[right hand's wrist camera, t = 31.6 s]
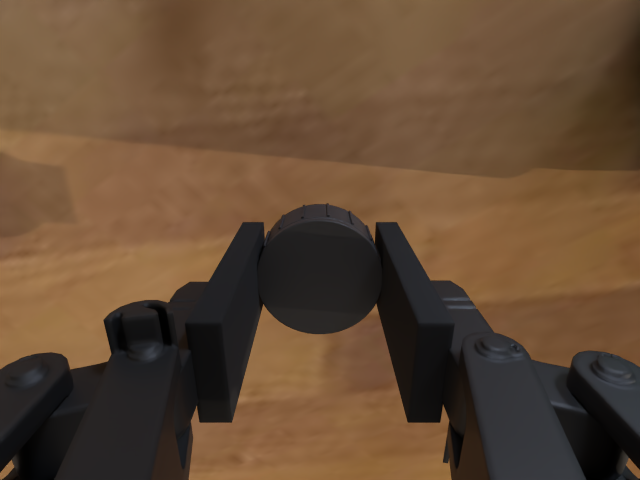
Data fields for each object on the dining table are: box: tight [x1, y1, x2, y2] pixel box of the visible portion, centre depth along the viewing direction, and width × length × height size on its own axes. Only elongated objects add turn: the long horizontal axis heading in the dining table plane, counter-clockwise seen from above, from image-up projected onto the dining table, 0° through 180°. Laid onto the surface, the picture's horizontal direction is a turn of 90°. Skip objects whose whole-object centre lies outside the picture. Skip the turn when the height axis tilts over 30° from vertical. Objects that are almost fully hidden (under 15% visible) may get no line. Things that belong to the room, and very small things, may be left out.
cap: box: [257, 204, 383, 334], centre depth 14 cm, size 4×4×2 cm
